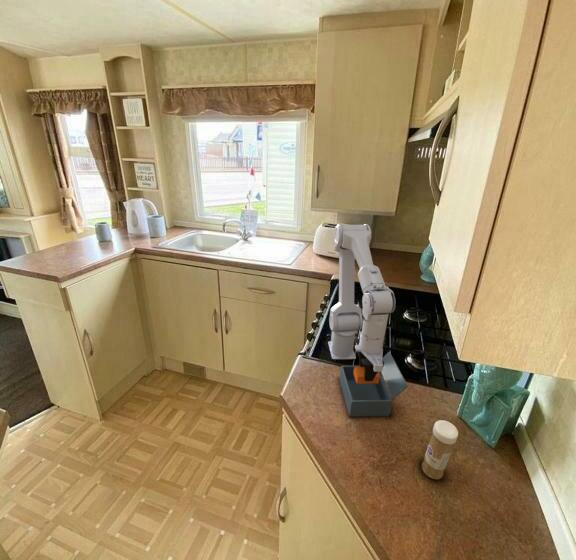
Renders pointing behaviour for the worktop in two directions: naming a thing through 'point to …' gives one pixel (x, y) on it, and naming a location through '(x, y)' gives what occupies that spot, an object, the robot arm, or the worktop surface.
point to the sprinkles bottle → (439, 449)
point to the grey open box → (364, 395)
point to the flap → (393, 376)
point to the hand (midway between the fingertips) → (366, 374)
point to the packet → (360, 376)
